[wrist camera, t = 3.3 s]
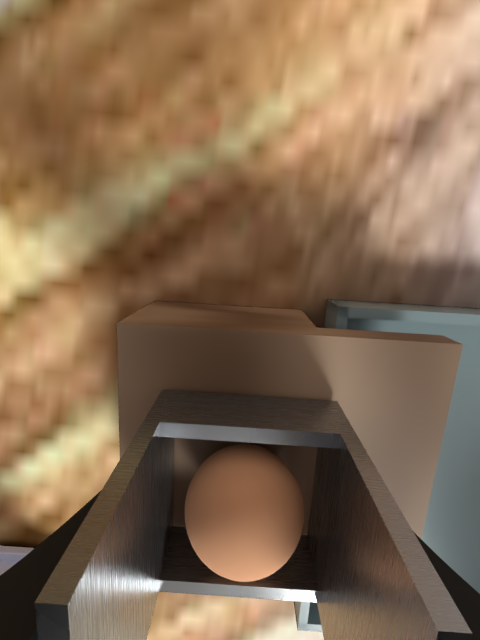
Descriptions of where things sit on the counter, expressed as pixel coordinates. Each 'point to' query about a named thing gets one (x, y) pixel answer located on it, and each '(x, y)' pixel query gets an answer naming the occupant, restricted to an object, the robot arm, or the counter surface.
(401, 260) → the counter surface
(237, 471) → the ball
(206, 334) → the stand
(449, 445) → the tray
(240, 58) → the counter surface
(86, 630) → the sleeve
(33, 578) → the robot arm
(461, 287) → the counter surface
